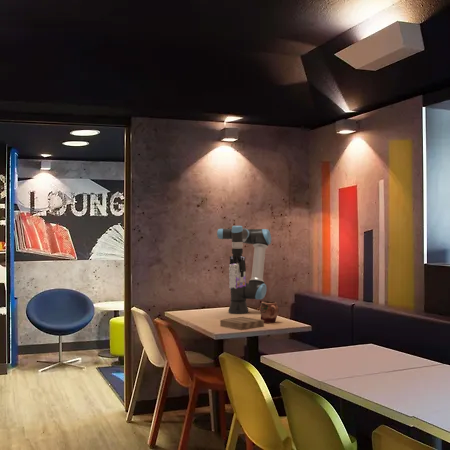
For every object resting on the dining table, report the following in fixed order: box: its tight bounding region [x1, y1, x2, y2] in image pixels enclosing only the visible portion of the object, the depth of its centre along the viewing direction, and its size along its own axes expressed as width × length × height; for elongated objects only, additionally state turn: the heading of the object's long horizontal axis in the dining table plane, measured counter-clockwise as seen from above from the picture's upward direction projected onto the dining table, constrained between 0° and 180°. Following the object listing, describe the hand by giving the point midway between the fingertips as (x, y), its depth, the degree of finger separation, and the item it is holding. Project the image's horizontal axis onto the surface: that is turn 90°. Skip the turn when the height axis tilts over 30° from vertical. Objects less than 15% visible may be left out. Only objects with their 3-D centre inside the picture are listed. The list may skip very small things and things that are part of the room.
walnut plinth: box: [219, 316, 265, 331], centre depth 391 cm, size 20×20×4 cm
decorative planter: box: [258, 300, 280, 324], centre depth 406 cm, size 20×12×14 cm, turn 26°
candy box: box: [228, 263, 247, 289], centre depth 415 cm, size 14×6×16 cm, turn 149°
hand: (237, 281), depth 415 cm, fingers closed on candy box, 7 cm apart
